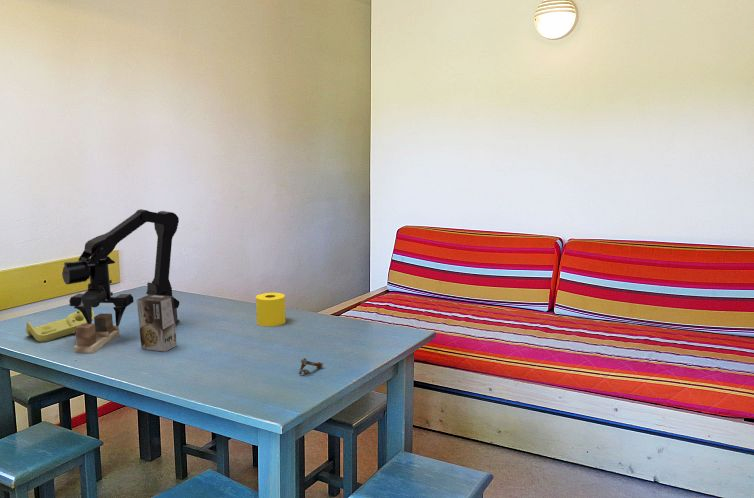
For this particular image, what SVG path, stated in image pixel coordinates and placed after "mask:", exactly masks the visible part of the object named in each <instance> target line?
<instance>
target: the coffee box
mask: <svg viewBox="0 0 754 498" xmlns="http://www.w3.org/2000/svg"><path fill="white" fill-rule="evenodd" d="M173 297H174V296H173V295H172V296H163V295H148V294H146V295H144V296H143V297H141V298H137V299H136V304H137V316H138V324H139V325H138V326H139V327H138V328H139V338H140V349H141V350H149V351H156V352H157V351H158V352H167V351H168V350H171V349H173V348H175V347H177V346H178V344H177V331H176V324H175V316H174V302H173Z"/></svg>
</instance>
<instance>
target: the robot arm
mask: <svg viewBox="0 0 754 498" xmlns="http://www.w3.org/2000/svg"><path fill="white" fill-rule="evenodd" d="M179 220H180V218H179V216H178V215H177V213H175V212H171V211H167V210H159V211H158V212H154V211H149V210H146V209H138V210H136V211H135V212H134V213H133V214H132V215H130V216H129V217H128V218H126V219H124V220H123V221H122V222H120V223H119V224H117V225H116V226H115V227H113V228H112V229H110V230H109V231H108V232H106V233H104V234H101V235H98V236H96V237H94V238H91V239H89V240H88V241H86V242H85V244H84V250H83V252H82V253H81V254H80V256H79V258H78V259H77V261H66V262H64V263H63V268H62V272H61V273H62V274H61V275H62V279H63V283H65V285H73V284H78V283H85V282H87V281H88V280H89V283H88V284H87V290H86V291H84V293H77V294H75V295H73V296H71V297H70V298H69V299H68V300H69V303H68V304H69V306H70V307H73V308H74V309H76V310H77V311H81V312H82V314H83V316H84V317H85V319H86V321H87V323H88V324H93V320H92V310H93V309H92V308H97V307H99V305H100V304H113V305H114V307H112V308H113V310H114V315H115V316H114V317H115V325H116V326H119V327H120V323H121V320H122V317H123V316H124V315H123V314H124V312H125V310H126V308H127V307H129V306H130V305H131V304H133V303H134V297H133V295H132V294H131V293H128V294H127V293H121V294H119V295H117V296H113V295H114V294H113V293H114V292H113V291H111V284H112V279H110V271H109V270H110V269H109V265H113V264H116V261H115V260H113V259H112V258H111V257H110V256H109V255H110V254H111V253H112V252H113V251H114V250H115V248H116V246H117V245H118V244H119V243H120V242H121V241H123V240H124V239H125V238H127V237H128V236H130V235H131V234H132V233H133V232H135V231H136V230H138V228H140V227H142V226H143V225H144V224H146V223H152V224H154V225H153V226H154V230H155V233H156V236H157V242H156V253H155V254H156V256H155V263H154V264H155V266H154V277H153V279H152V280H151V282H150V281H149V282H147V284H146V285H147V286H146V288H147V289H146V294H145V295H163V296H173V287H172V284H171V282H170V270H171V269H170V268H171V256H172V245H173V244H172V243H173V238H174V236H175V234H176V232H177V229H178V226H179ZM173 302H174V316H175V325H177V324H178V323H179V322H180V319H178V308H179V306H180V303H181V302H180V301H179V300H178V299H176V298H175V297H174V296H173Z"/></svg>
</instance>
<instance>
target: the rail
mask: <svg viewBox="0 0 754 498" xmlns="http://www.w3.org/2000/svg"><path fill="white" fill-rule="evenodd" d="M119 327H120V325H119V326H116V324H113V332H112V333H110V334H109V332H95V324H94V323H92V324H81V325H79V326H77V327H75V329H76V331H75V340H76V345H74V346H73V349H74V353H79V354H80V353H82V354H87V353H88V354H94V353H95V352H98V350H100V349H101V348H103V347H105V346H106V345H108V344H109V343H110V342H112V341H114V340H115V339H116V338H118V337H119V336H121V335H120V328H119Z"/></svg>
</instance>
